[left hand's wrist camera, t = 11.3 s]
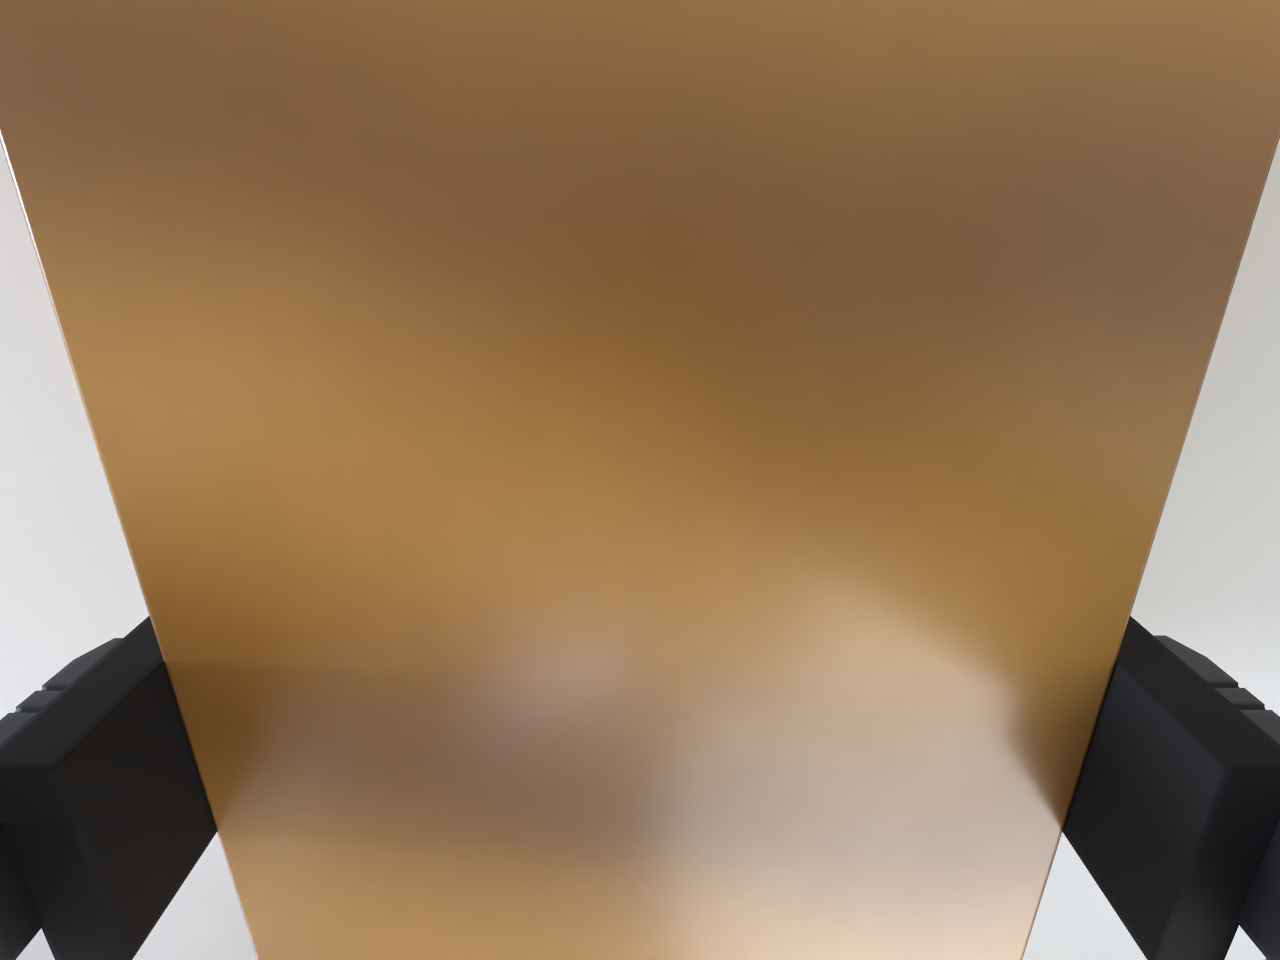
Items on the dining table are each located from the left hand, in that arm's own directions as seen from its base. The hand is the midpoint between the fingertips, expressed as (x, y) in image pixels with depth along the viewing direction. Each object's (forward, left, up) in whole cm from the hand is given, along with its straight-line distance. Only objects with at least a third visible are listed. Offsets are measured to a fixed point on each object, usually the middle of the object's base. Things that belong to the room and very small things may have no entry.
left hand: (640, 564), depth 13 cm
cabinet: (+7, -1, -5) cm, 8 cm away
